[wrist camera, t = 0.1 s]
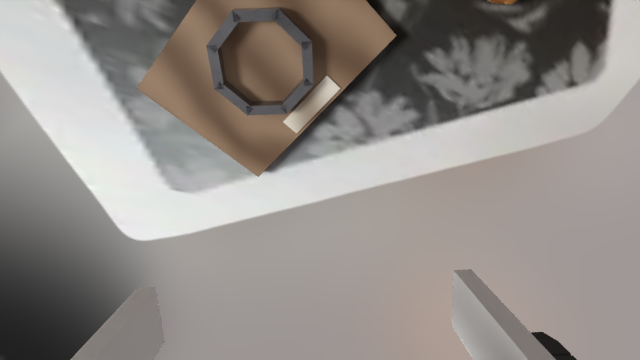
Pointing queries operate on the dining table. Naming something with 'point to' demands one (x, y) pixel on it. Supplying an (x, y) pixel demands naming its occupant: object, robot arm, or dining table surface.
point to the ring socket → (219, 70)
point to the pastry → (503, 1)
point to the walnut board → (262, 70)
